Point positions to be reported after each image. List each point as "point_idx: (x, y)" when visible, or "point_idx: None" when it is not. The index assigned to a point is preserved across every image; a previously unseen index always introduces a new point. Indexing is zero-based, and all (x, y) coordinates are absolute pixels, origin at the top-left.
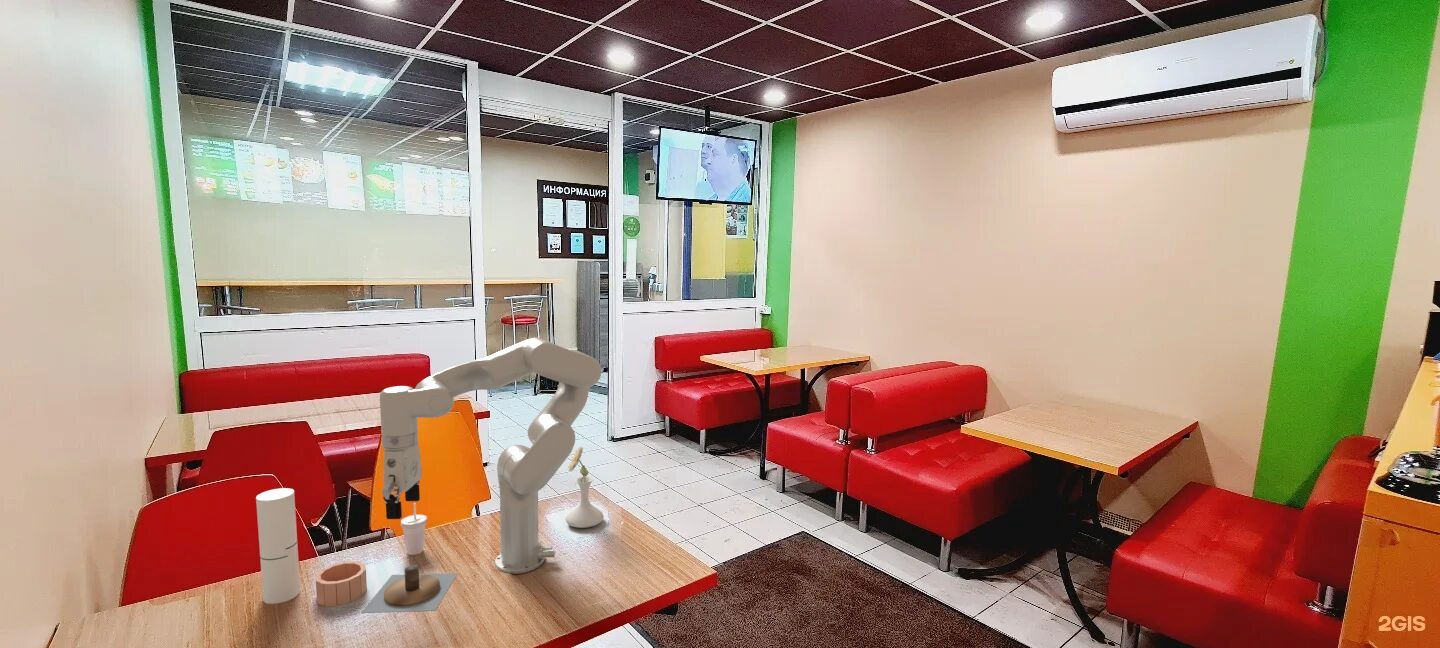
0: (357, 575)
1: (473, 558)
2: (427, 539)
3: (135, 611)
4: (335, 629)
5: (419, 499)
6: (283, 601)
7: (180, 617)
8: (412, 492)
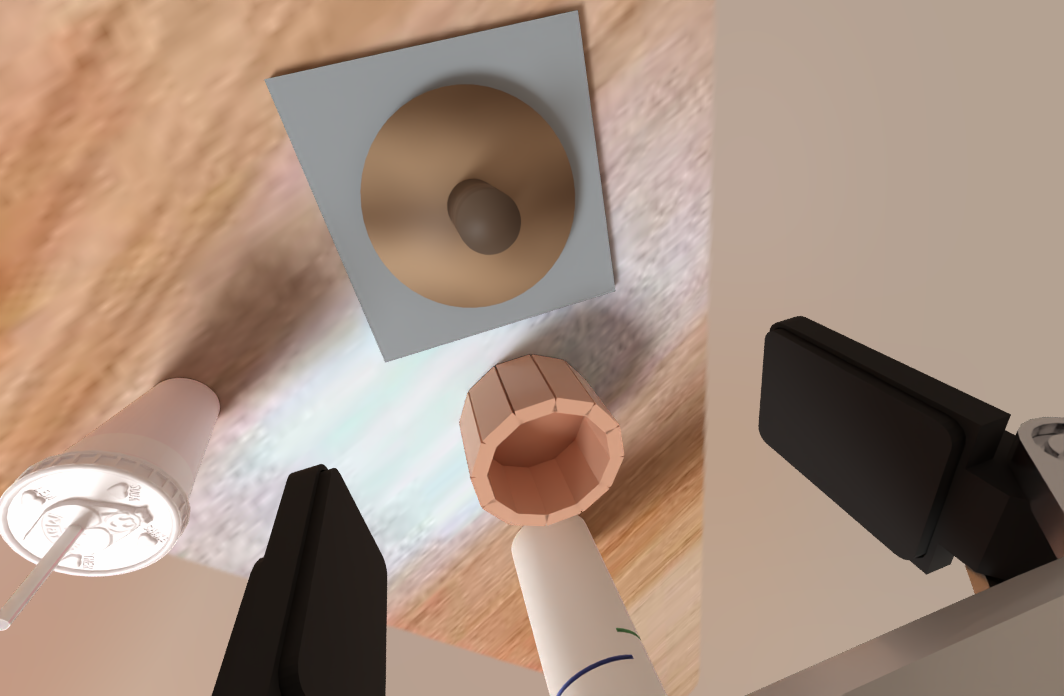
0: (562, 403)
1: (59, 91)
2: (39, 443)
3: None
4: (679, 306)
5: (296, 472)
6: (578, 516)
7: (646, 615)
8: (346, 615)
